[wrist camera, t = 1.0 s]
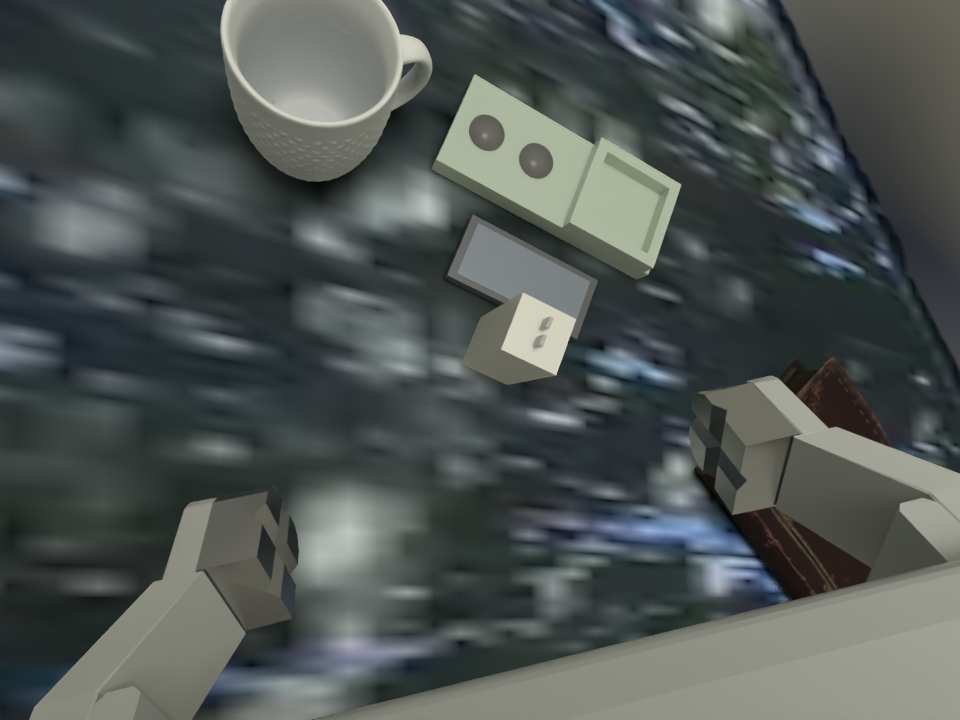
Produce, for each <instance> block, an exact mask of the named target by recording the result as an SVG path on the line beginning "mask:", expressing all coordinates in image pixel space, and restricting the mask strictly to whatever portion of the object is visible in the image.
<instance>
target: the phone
mask: <svg viewBox="0 0 960 720" xmlns="http://www.w3.org/2000/svg"><path fill="white" fill-rule="evenodd" d="M444 279H446V280H448V281H450V282H452V283H454V284H456V285H458V286H460V287H462V288H464V289H466V290H468V291H470V292H472V293H474V294H476V295H478V296H480V297H482V298H484V299H486V300H488V301H490V302H492V303H494V304H497V305H499V306H501V305H503V304H504V303H506V302H508V301H509V300H511V299H513V298H515V297H516V296H518V295H520V294H521V293H525V294H527V295H529V296H531V297H533V298H535V299H537V300H539V301H541V302H543V303H545V304H547V305H549V306H551V307H553V308H555V309H557V310H559V311H561V312H563V313H565V314H567V315H569V316H571V317H573V318H575V319H576V321H575V324H574V327H573V330H572V333H571V335H570V338H569V340H570V341H572V340H576V339H577V338H578V335H579V332H580V329H581V326H582V324H583V321H584V318H585V315H586V312H587V310H588V307H589V304H590V301H591V298H592V296H593V293H594V290H595V287H596V284H597V282H598V280H596V279H594V278H592V277H590V276H588V275H587V274H585V273H583V272H581V271H579V270H577V269H575V268H573V267H571V266H569V265H568V264H566V263H564V262H562V261H560V260H558V259H556V258H554V257H552V256H551V255H549V254H547V253H545V252H543V251H541V250H539V249H537V248H535V247H533V246H532V245H530V244H528V243H526V242H524V241H522V240H520V239H518V238H516V237H514V236H513V235H511V234H509V233H507V232H505V231H503V230H501V229H499V228H497V227H495V226H494V225H492V224H490V223H488V222H486V221H484V220H482V219H480V218H478V217H476V216H475V215H472V216H471V217H470V219H469V220H468V223H467V225H466V227H465V230H464V232H463V234H462V237H461V239H460V241H459V244H458V246H457V249H456V251H455V253H454V256H453V258H452V260H451V263H450V265H449V267H448V270H447V272H446V274H445V277H444Z"/></svg>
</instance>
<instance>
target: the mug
mask: <svg viewBox="0 0 960 720" xmlns="http://www.w3.org/2000/svg"><path fill="white" fill-rule="evenodd" d="M220 35H221V44H222V50H223V59H224V62H225V72H226V75H227V79H228V86H229V89H230V92H231V98H232V101H233V103H234V109H235V111H236V112H237V115H238V120H239V122H240V123H241V124H242V126H243V129H244V132H245V133H246V134H247V135H248V137H249V139H250V141H251V143H253V144H254V146H255V148H256V149H257V150H258V151H259V152H260V153H261V154H262V156H263V157H264V158H265V159H266V160H268V161H269V163H270V164H272V165H273V166H275V167H276V168H277V169H279V170H280V171H282V172H284V173H285V174H287V175H289V176H293V177H295V178H296V179H302V180H306V181H308V182H309V181H314V182H315V181H318V182H321V181H327V180H332V179H333V178H338V177H340V176H342V175H345V174H346V173H347V172H349V171H352V170H353V169H354V168H355V167H356V166H358V165H359V164H360V163H361V161H363V160H364V159H365V158H366V157H367V155H368V154H369V153H371V151H372V149H373V147H374V146H375V145H376V144H377V142H378V139H379V138H380V136H381V135H382V132H383V129H384V127H385V126H386V123H387V120H388V118H389V117H390V113H391V111H392V110H394V109H396V108H398V107H400V106H401V105H403V104H405V103H406V102H408V101H409V100H410V99H412V98H413V97H414V96H416V95H417V94H418V93H419V92H420V91H421V90H422V89H423V88H424V86H425V85H426V84H427V82H428V80H429V78H430V76H431V73H432V61H431V58H430V54H429V52H428V50H427V48H426V47H425V45H424V44H423V43H422V42H421V41H420V40H418V39H417V38H414V37H411V36H407V35H400V34H399V30H398V27H397V25H396V23H395V21H394V19H393V17H392V15H391V13H390V12H389V10H388V8H387V7H386V6H385V5H384V3H383V2H382V0H227V1H226V3H225V5H224V9H223V12H222V17H221V27H220ZM413 62H416V63H415V65H414V66H413V68H412V69H411V70H410V71H409V72H408V73H407V74H406V75H405V76H404V77H403V78H402V79H401V80H400V78H401V74H402V68H403V65H405V64H408V63H413Z"/></svg>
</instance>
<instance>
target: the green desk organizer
mask: <svg viewBox="0 0 960 720" xmlns="http://www.w3.org/2000/svg"><path fill="white" fill-rule="evenodd" d="M431 170H433V171H435V172H437V173H439V174H440V175H442V176H444V177H446V178H448V179H450V180H452V181H453V182H455V183H457V184H459V185H461V186H463V187H465V188H466V189H468V190H470V191H472V192H474V193H476V194H478V195H479V196H481V197H483V198H485V199H487V200H489V201H491V202H493V203H494V204H496V205H498V206H500V207H502V208H504V209H506V210H507V211H509V212H511V213H513V214H515V215H517V216H519V217H520V218H522V219H524V220H526V221H528V222H530V223H532V224H533V225H535V226H537V227H539V228H541V229H543V230H545V231H546V232H548V233H550V234H552V235H554V236H556V237H558V238H560V239H561V240H563V241H565V242H567V243H569V244H571V245H573V246H574V247H576V248H578V249H580V250H582V251H584V252H586V253H587V254H589V255H591V256H593V257H595V258H597V259H599V260H600V261H602V262H604V263H606V264H608V265H610V266H612V267H614V268H615V269H617V270H619V271H621V272H623V273H625V274H627V275H628V276H630V277H632V278H634V279H636V280H637V279H639V278H642V277H644V276H646V275H648V274H649V271H650V269H652V268H654V265H655V262H656V259H657V256H658V253H659V250H660V247H661V244H662V241H663V238H664V235H665V232H666V229H667V226H668V223H669V220H670V217H671V214H672V211H673V208H674V205H675V202H676V199H677V196H678V193H679V190H680V187H681V184H679V183H678V182H676V181H674V180H673V179H671V178H669V177H668V176H666V175H664V174H663V173H661V172H659V171H657V170H656V169H654V168H652V167H651V166H649V165H647V164H646V163H644V162H642V161H641V160H639V159H637V158H636V157H634V156H632V155H631V154H629V153H627V152H626V151H624V150H622V149H621V148H619V147H617V146H616V145H614V144H612V143H611V142H609V141H607V140H606V139H604V138H602V137H601V138H600V139H599V140H598V141H597V142H596V143H595V144H594V145H593V144H591V143H590V142H588V141H586V140H585V139H583V138H581V137H580V136H578V135H576V134H575V133H573V132H571V131H570V130H568V129H566V128H564V127H563V126H561V125H559V124H558V123H556V122H554V121H553V120H551V119H549V118H548V117H546V116H544V115H542V114H541V113H539V112H537V111H536V110H534V109H532V108H531V107H529V106H527V105H526V104H524V103H522V102H521V101H519V100H517V99H515V98H514V97H512V96H510V95H509V94H507V93H505V92H504V91H502V90H500V89H499V88H497V87H495V86H494V85H492V84H490V83H488V82H487V81H485V80H483V79H482V78H480V77H478V76H477V75H474V77H473V79H472V81H471V83H470V84H469V86H468V89H467V91H466V93H465V95H464V97H463V100H462V102H461V104H460V106H459V108H458V111H457V113H456V115H455V117H454V120H453V122H452V124H451V126H450V128H449V131H448V133H447V135H446V137H445V139H444V142H443V144H442V146H441V148H440V151H439V153H438V155H437V157H436V159H435V162H434V164H433V166H432V168H431Z"/></svg>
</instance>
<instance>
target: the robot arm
mask: <svg viewBox="0 0 960 720" xmlns="http://www.w3.org/2000/svg"><path fill="white" fill-rule="evenodd" d="M692 409H693V410H694V412H695V413H696V415H697V416H698V417H697V418H696V420H695V421H694V422H693V423H692V424H691V426H690V438H689V439H690V444H691V448H692V453H693V455H694V457H695V459H696V462H697V463H698V465H699V466H700V468H701V469H702V471H703V472H705V473H707V474H709V475H711V476H713V477H715V478H716V481H715V488H714V489H715V490H716V492H717V493H718V495H719V496H720V498H721V499H722V500H723V502H724V503H725V505H726V506H727V508H728V509H729V511H730V512H731V514H732V515H735V514H740V513H744V512H749V511H754V510H759V509H764V508H769V507H774V506H776V509H777V510H779V511H781V512H782V513H784V514H785V515H787V516H789V517H790V518H792V519H794V520H795V521H797V522H798V523H800V524H802V525H803V526H805V527H806V528H808V529H810V530H811V531H813V532H814V533H816V534H818V535H819V536H821V537H822V538H824V539H826V540H827V541H829V542H830V543H832V544H834V545H835V546H837V547H838V548H840V549H842V550H843V551H845V552H847V553H848V554H850V555H851V556H853V557H855V558H856V559H858V560H859V561H861V562H863V563H864V564H866V565H867V566H869V567H871V568H872V569H871V571H870V573H869V576H868V578H867V580H866V583H862V584H858V585H854V586H850V587H845V588H841V589H837V590H833V591H829V592H825V593H821V594H817V595H813V596H809V597H805V598H801V599H797V600H793V601H789V602H785V603H781V604H777V605H773V606H769V607H765V608H761V609H757V610H753V611H749V612H744V613H740V614H736V615H732V616H728V617H724V618H720V619H716V620H712V621H708V622H704V623H700V624H696V625H692V626H688V627H684V628H680V629H676V630H672V631H668V632H664V633H660V634H656V635H652V636H648V637H644V638H640V639H636V640H632V641H628V642H624V643H620V644H615V645H611V646H607V647H603V648H599V649H595V650H591V651H587V652H583V653H579V654H575V655H571V656H567V657H563V658H559V659H555V660H551V661H547V662H543V663H539V664H535V665H531V666H527V667H523V668H519V669H515V670H511V671H506V672H502V673H498V674H494V675H490V676H486V677H482V678H478V679H474V680H470V681H466V682H462V683H458V684H454V685H450V686H446V687H442V688H438V689H434V690H430V691H426V692H422V693H418V694H414V695H409V696H405V697H401V698H397V699H393V700H389V701H385V702H381V703H377V704H373V705H369V706H365V707H361V708H357V709H353V710H349V711H345V712H341V713H337V714H333V715H329V716H325V717H320V718H316V719H312V720H960V474H959V473H956V472H954V471H951V470H948V469H946V468H943V467H940V466H938V465H935V464H933V463H930V462H927V461H925V460H922V459H919V458H917V457H914V456H912V455H909V454H906V453H904V452H901V451H899V450H896V449H893V448H891V447H888V446H885V445H883V444H880V443H878V442H875V441H872V440H870V439H867V438H864V437H862V436H859V435H857V434H854V433H851V432H849V431H846V430H843V429H841V428H838V427H833V428H828V427H827V426H826V425H825V424H824V423H823V422H822V421H821V420H820V419H819V418H818V417H817V416H816V415H815V414H814V413H813V412H812V411H811V410H810V409H809V408H808V407H807V406H806V405H805V404H804V403H803V402H802V401H801V400H800V399H799V398H798V397H797V396H796V395H795V394H794V393H792V392H791V391H790V390H789V389H788V388H787V387H786V386H785V385H784V384H783V383H782V382H781V381H780V380H779V379H778V378H776V377H774V376H767V377H763V378H758V379H754V380H750V381H746V382H742V383H738V384H733V385H729V386H724V387H720V388H716V389H711V390H707V391H703V392H698V393H697V394H696V395H695V397H694V399H693V407H692ZM281 504H282V498H281V496H280V495H279V493H278V491H277V489H276V487H271V486H270V487H265V488H260V489H255V490H250V491H245V492H240V493H234V494H229V495H224V496H219V497H217V498H212V499H207V500H202V501H196V502H191V503H189V504H188V506H187V507H186V508H185V509H184V511H183V514H182V518H181V521H180V524H179V527H178V530H177V534H176V537H175V540H174V543H173V547H172V550H171V553H170V556H169V559H168V563H167V566H166V569H165V572H164V575H163V579H162V580H159V581H155V582H153V583H152V584H151V585H150V586H149V587H148V588H147V589H146V590H145V591H144V593H143V594H142V595H141V596H140V597H139V598H138V599H137V600H136V601H135V602H134V603H133V604H132V605H131V606H130V607H129V608H128V609H127V610H126V611H125V613H124V614H123V615H122V616H121V617H120V618H119V619H118V620H117V621H116V622H115V623H114V624H113V625H112V626H111V627H110V628H109V629H108V630H107V631H106V632H105V634H104V635H103V636H102V637H101V638H100V639H99V640H98V641H97V642H96V643H95V644H94V645H93V646H92V647H91V648H90V649H89V650H88V651H87V652H86V653H85V655H84V656H83V657H82V658H81V659H80V660H79V661H78V662H77V663H76V664H75V665H74V666H73V667H72V668H71V669H70V670H69V671H68V672H67V673H66V675H65V676H64V677H63V678H62V679H61V680H60V681H59V682H58V683H57V684H56V685H55V686H54V687H53V688H52V689H51V690H50V691H49V692H48V693H47V694H46V696H45V697H44V698H43V699H42V700H41V701H40V702H39V703H38V704H37V705H36V706H35V707H34V710H33V712H32V714H31V717H30V719H29V720H192V719H193V717H194V715H195V714H196V712H197V711H198V709H199V707H200V706H201V704H202V703H203V701H204V699H205V698H206V696H207V695H208V693H209V691H210V690H211V688H212V687H213V685H214V683H215V682H216V680H217V679H218V677H219V675H220V674H221V672H222V671H223V669H224V667H225V666H226V664H227V663H228V661H229V659H230V658H231V656H232V655H233V653H234V651H235V650H236V648H237V647H238V645H239V644H240V642H241V640H242V639H243V637H244V636H245V634H246V633H245V631H246V630H250V629H254V628H258V627H262V626H265V625H269V624H273V623H277V622H281V621H284V620H288V619H292V618H293V608H294V598H295V588H296V585H295V583H294V581H293V579H292V577H291V576H290V574H291V573H292V571H293V570H294V569H295V567H296V566H297V565H298V553H299V549H298V539H297V533H296V529H295V526H294V523H293V521H292V519H291V517H290V515H289V514H287V513H285V512H283V511H281Z"/></svg>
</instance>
